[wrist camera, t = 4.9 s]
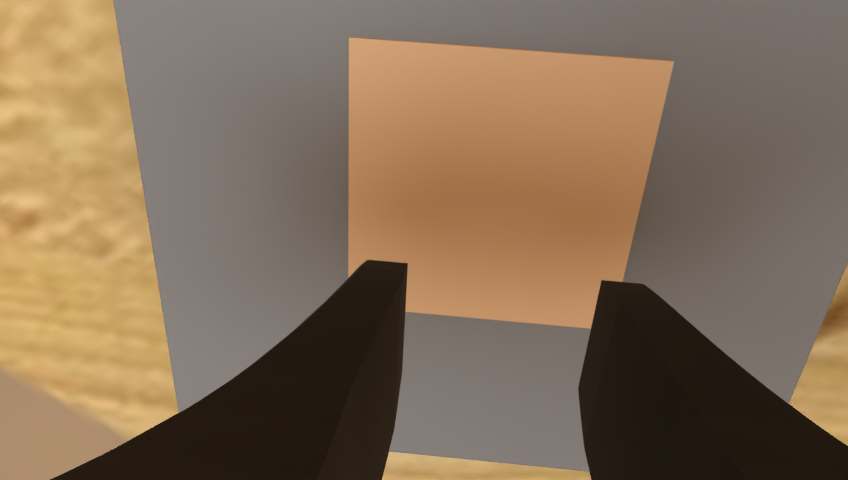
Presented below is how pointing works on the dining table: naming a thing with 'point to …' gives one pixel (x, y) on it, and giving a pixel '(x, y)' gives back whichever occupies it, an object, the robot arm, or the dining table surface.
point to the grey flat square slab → (491, 187)
